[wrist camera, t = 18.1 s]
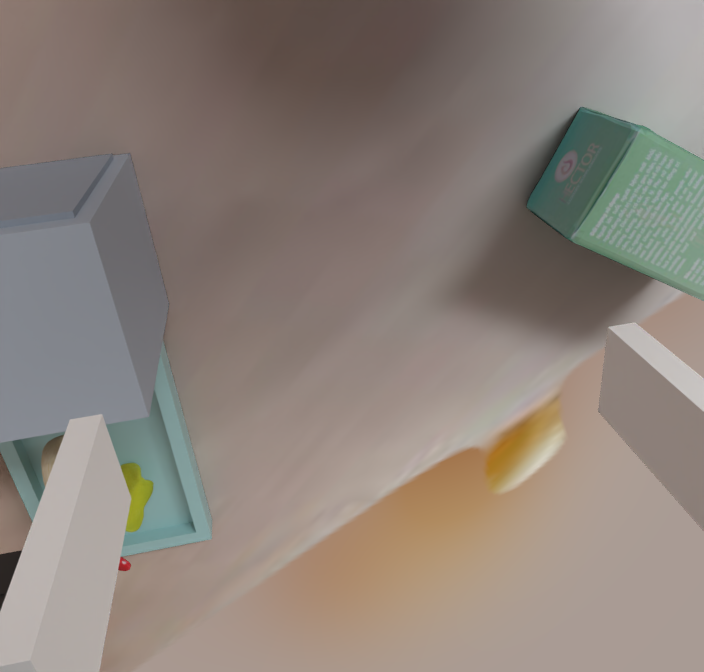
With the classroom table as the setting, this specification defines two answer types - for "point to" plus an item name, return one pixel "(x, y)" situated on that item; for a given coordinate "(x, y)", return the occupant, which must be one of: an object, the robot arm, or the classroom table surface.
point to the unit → (76, 296)
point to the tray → (156, 465)
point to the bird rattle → (134, 480)
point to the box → (627, 199)
